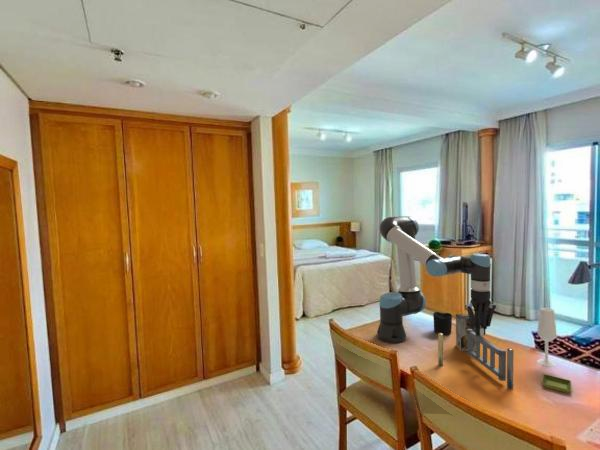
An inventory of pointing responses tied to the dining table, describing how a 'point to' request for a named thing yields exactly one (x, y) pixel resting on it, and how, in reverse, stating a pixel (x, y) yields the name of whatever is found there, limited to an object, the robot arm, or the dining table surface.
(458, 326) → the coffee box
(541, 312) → the champagne flute
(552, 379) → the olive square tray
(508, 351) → the hinge post
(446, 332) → the pen holder
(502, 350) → the gate
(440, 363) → the post
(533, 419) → the dining table surface
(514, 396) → the dining table surface
